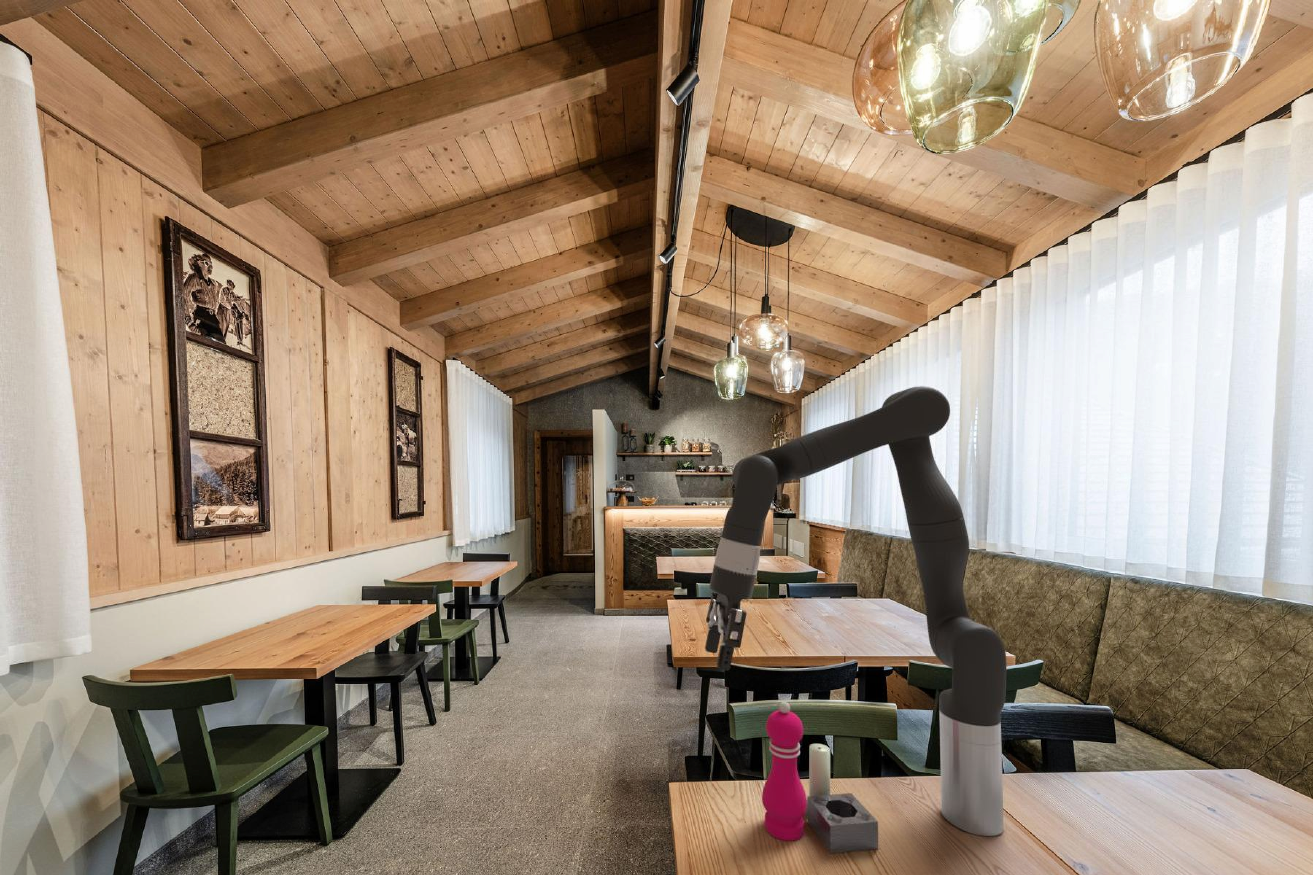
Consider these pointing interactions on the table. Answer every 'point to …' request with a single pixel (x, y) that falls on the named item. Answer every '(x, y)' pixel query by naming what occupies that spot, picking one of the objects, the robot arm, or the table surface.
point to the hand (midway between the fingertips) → (716, 659)
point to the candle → (819, 770)
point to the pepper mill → (784, 777)
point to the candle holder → (842, 823)
